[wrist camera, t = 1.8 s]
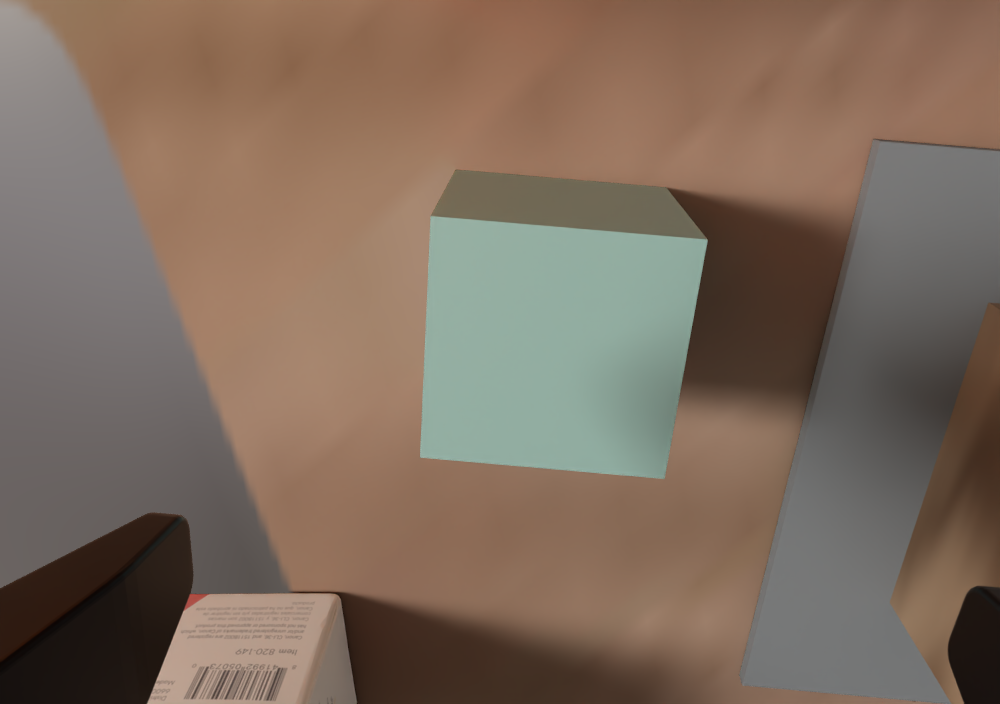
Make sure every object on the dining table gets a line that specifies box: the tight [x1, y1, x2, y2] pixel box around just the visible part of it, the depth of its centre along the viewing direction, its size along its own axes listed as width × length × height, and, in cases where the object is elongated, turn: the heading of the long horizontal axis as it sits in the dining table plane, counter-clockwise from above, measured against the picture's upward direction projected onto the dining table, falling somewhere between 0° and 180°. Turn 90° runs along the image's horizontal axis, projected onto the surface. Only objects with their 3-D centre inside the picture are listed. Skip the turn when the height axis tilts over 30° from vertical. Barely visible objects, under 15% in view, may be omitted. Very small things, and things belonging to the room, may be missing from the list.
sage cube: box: [420, 170, 708, 479], centre depth 18 cm, size 5×5×5 cm
